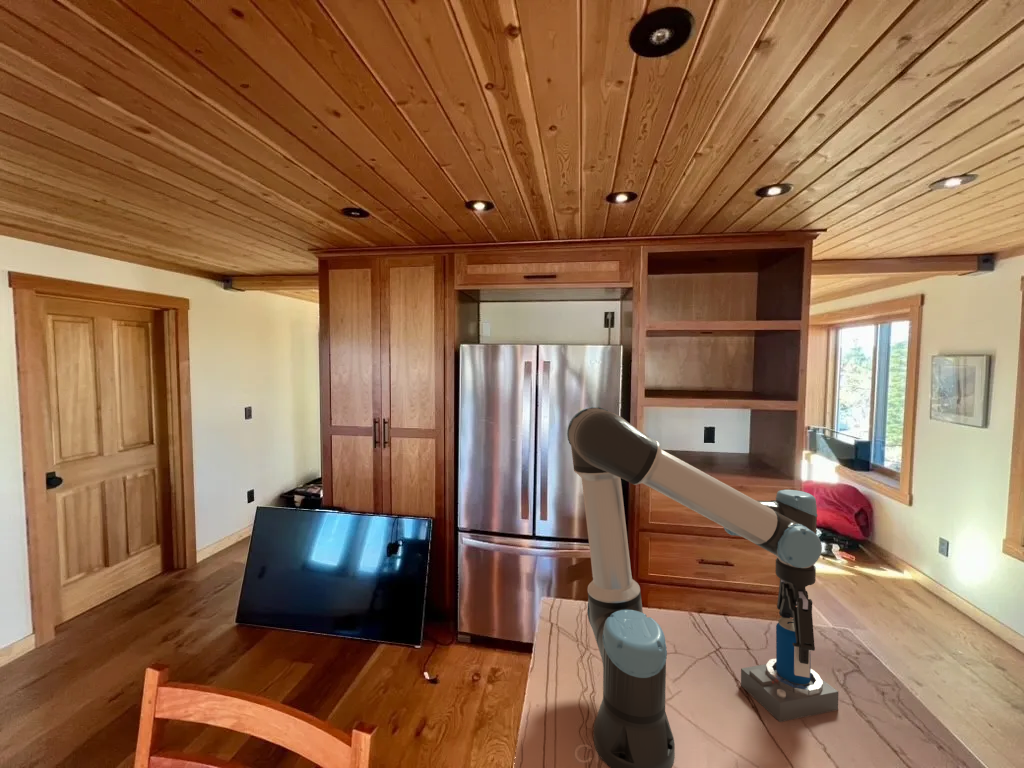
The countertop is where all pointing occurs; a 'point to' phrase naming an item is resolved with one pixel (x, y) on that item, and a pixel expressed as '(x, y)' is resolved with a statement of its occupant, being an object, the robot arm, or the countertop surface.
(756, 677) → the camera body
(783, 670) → the beverage can
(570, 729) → the countertop surface
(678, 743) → the countertop surface
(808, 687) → the mount ring
